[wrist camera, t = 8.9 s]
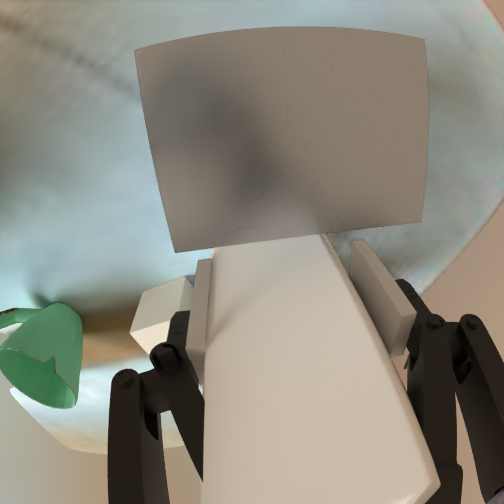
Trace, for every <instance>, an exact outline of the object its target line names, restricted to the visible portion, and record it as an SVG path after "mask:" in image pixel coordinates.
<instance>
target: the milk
mask: <svg viewBox="0 0 504 504" xmlns="http://www.w3.org/2000/svg"><path fill="white" fill-rule="evenodd" d="M203 398H204V400H205V414H204V456H203V482H202V480H201V478H200V504H425V503H426V502H427V501H428V500H429V498H430V497H431V496H432V495H433V494H434V493H435V492H436V491H437V490H438V488H439V487H440V485H441V484H440V480H439V477H438V474H437V471H436V468H435V465H434V462H433V459H432V456H431V454H430V451H429V449H428V446H427V443H426V441H425V438H424V436H423V433H422V430H421V428H420V425H419V422H418V419H417V417H416V414H415V412H414V409H413V406H412V404H411V401H410V399H409V396H408V394H407V392H406V390H405V387H404V385H403V383H402V381H401V379H400V376H399V374H398V372H397V370H396V368H395V366H394V364H393V361H392V359H391V357H390V355H389V353H388V351H387V349H386V347H385V345H384V343H383V341H382V339H381V337H380V335H379V333H378V331H377V329H376V327H375V325H374V323H373V321H372V319H371V317H370V315H369V313H368V311H367V309H366V307H365V305H364V303H363V302H362V300H361V298H360V296H359V294H358V292H357V290H356V289H355V287H354V285H353V283H352V281H351V279H350V278H349V276H348V274H347V272H346V270H345V268H344V267H343V265H342V263H341V261H340V260H339V258H338V256H337V254H336V253H335V251H334V249H333V247H332V246H331V244H330V242H329V240H328V239H327V237H326V235H325V234H317V235H309V236H301V237H293V238H285V239H278V240H270V241H262V242H254V243H246V244H239V245H231V246H224V247H216V248H213V253H212V268H211V280H210V293H209V307H208V321H207V336H206V352H205V360H204V378H203Z"/></svg>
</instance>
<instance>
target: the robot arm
mask: <svg viewBox="0 0 504 504" xmlns="http://www.w3.org/2000/svg"><path fill="white" fill-rule="evenodd" d="M211 268H212V259H211V258H210V259H203V260H198V263H197V270H196V276H195V283H194V289H193V296H192V303H191V310H187V311H177V312H175V314H174V315H173V316H172V318H171V320H170V325H169V330H168V335H167V340H166V342H162V343H159V344H158V345H156V346H155V347H154V348H153V349H152V350H151V352H150V354H149V355H150V360H151V362H152V364H153V366H154V369H152V370H149V371H146V372H143V373H140V374H138V373H137V372H136V371H135V370H133V369H124V370H121V371H119V372H118V373H116V374H115V376H114V377H113V379H112V383H111V394H110V408H109V426H108V498H109V499H108V500H109V504H170V502H169V494H168V487H167V479H166V470H165V461H164V452H163V441H162V429H161V415H160V413H162V412H165V411H169V410H171V412H172V415H173V417H174V420H175V422H176V425H177V427H178V430H179V432H180V434H181V437H182V439H183V441H184V444H185V446H186V448H187V450H188V452H189V455H190V457H191V459H192V461H193V463H194V465H195V468H196V470H197V472H198V474H199V476H200V478H201V480H202V482H203V456H204V414H205V400H204V398H203V396H202V394H201V392H200V390H199V384H200V386H201V388H203V378H204V360H205V352H206V336H207V321H208V307H209V293H210V280H211ZM349 278H350V279H351V281H352V283H353V285H354V287H355V289H356V290H357V292H358V294H359V296H360V298H361V300H362V302H363V303H364V305H365V307H366V309H367V311H368V313H369V315H370V317H371V319H372V321H373V323H374V325H375V327H376V329H377V331H378V333H379V335H380V337H381V339H382V341H383V343H384V345H385V347H386V349H387V351H388V353H389V355H390V357H391V358H393V357H397V356H400V355H403V354H404V351H405V349H406V347H407V349H408V351H409V355H408V358H407V361H406V363H405V366H404V369H406V368H407V365H408V375H407V377H408V378H407V394H408V396H409V399H410V401H411V404H412V406H413V409H414V412H415V414H416V417H417V419H418V422H419V425H420V428H421V430H422V433H423V436H424V438H425V441H426V443H427V446H428V449H429V451H430V454H431V456H432V459H433V462H434V465H435V468H436V471H437V474H438V477H439V480H440V484H441V485H440V487H439V488H438V490H437V491H436V492H435V493H434V494H433V495H432V496H431V497H430V498H429V500H428V501H427V502H426V503H425V504H460V503H461V493H462V480H463V470H462V467H461V466H460V465H458V464H457V458H456V457H457V420H456V399H455V393H456V396H457V399H458V402H459V405H460V409H461V412H462V415H463V419H464V422H465V425H466V429H467V432H468V436H469V440H470V444H471V448H472V453H473V457H474V461H475V466H476V471H477V476H478V481H479V485H480V490H481V493H482V496H483V499H484V501H485V503H486V504H504V362H503V361H502V358H501V356H500V355H499V352H498V350H497V348H496V346H495V345H494V343H493V340H492V339H491V337H490V335H489V333H488V331H487V329H486V327H485V326H484V324H483V322H482V321H481V319H480V318H479V317H477V316H476V315H472V314H465V315H463V316H462V317H461V319H460V321H459V322H445V320H444V319H443V318H442V317H441V316H439V315H437V314H432V313H431V312H430V311H429V309H428V308H427V307H426V305H425V304H424V302H423V301H422V299H421V298H420V297H419V296H418V294H417V292H416V291H415V290H414V288H413V287H412V286H411V284H410V283H408V282H407V281H405V280H404V279H398V280H394V279H393V277H392V276H391V275H390V273H389V272H388V270H387V269H386V268H385V266H384V265H383V264H382V262H381V261H380V259H379V258H378V257H377V255H376V254H375V253H374V251H373V250H372V249H371V247H370V246H369V245H368V244H367V242H366V241H365V240H364V239H357V240H352V245H351V260H350V274H349Z"/></svg>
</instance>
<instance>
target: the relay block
mask: <svg viewBox="0 0 504 504" xmlns="http://www.w3.org/2000/svg"><path fill="white" fill-rule="evenodd" d="M193 289H194V288H193V287H192V285H191V284H190V282H189V280H188V279H187V277H186V276H183V277H180V278H178V279H175V280H172V281H170V282H167V283H164V284H162V285H159V286H157V287H154V288H151V289H149V290H146V291H143V294H142V296H141V299H140V302H139V305H138V308H137V311H136V314H135V317H134V320H133V323H132V326H131V329H130V334H131V335H132V337H133V338H134V339H135V340H136V341H137V342H138V344H139V345H140V346H141V347H142V348H143V349H144V350H145V351H146V352H147V354H148V355H149V354H150V352H151V350H152V349H153V348H154V347H155V346H156V345H158V344H159V343H162V342H166V340H167V335H168V330H169V325H170V320H171V318H172V316H173V315H174V314H175V312H177V311H187V310H191V303H192V296H193ZM149 356H150V355H149Z"/></svg>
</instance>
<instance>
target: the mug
mask: <svg viewBox="0 0 504 504" xmlns="http://www.w3.org/2000/svg"><path fill="white" fill-rule="evenodd" d="M15 323H23V324H22V325H21V326H20V327H19V328H18V329H17V330H16V331H15V332H14V333H13V334H12V335H11V336H10V337H9V338H8V339H7V340H5V342H4V343H2V345H1V346H0V370H1V371H2V373H3V374H4V376H5V377H6V378H7V379H8V380H9V382H10V383H11V384H12V385H14V386H15V387H16V388H17V389H18V390H19V391H21V392H22V393H23V394H25V395H26V396H28V397H29V398H31V399H33V400H35V401H37V402H39V403H41V404H43V405H46V406H49V407H52V408H57V409H69V408H72V407H73V406H74V405H75V404H76V402H77V399H78V390H79V375H80V369H81V363H82V348H83V328H82V320H81V318H80V316H79V314H78V313H77V312H76V311H75V310H74V309H72V308H71V307H70V306H68V305H66V304H63V303H59V302H58V303H53V304H51V305H49V306H48V307H46V308H44V309H31V308H12V309H9V310H5V311H2V312H0V329H2V328H4V327H7V326H9V325H12V324H15Z"/></svg>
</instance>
